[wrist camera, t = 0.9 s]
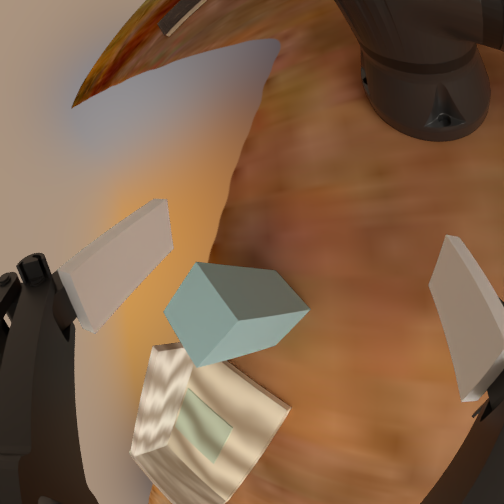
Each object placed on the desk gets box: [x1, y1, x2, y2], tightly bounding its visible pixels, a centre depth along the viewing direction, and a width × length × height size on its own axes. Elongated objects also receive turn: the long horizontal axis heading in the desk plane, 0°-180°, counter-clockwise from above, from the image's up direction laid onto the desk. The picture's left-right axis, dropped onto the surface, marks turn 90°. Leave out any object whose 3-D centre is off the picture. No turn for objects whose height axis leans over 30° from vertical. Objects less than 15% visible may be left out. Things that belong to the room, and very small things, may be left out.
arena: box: [129, 342, 292, 504], centre depth 31 cm, size 24×16×8 cm, turn 155°
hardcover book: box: [158, 0, 207, 37], centre depth 56 cm, size 16×23×2 cm
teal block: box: [164, 262, 310, 368], centre depth 26 cm, size 6×6×12 cm
